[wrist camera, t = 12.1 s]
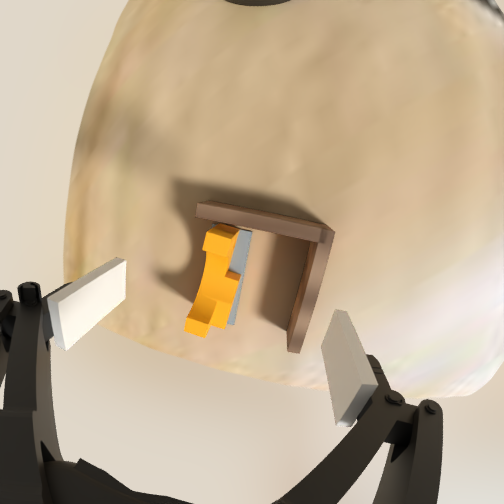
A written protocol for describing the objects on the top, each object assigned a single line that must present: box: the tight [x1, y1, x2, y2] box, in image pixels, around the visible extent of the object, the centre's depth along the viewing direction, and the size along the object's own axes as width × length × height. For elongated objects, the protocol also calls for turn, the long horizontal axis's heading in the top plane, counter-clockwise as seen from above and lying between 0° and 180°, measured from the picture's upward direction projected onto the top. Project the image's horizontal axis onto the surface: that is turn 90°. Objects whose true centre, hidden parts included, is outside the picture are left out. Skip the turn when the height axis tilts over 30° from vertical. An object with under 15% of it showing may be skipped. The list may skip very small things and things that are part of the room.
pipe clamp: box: [184, 223, 241, 338], centre depth 32 cm, size 12×4×6 cm, turn 164°
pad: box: [211, 224, 252, 325], centre depth 35 cm, size 13×5×1 cm, turn 169°
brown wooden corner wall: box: [195, 201, 335, 353], centre depth 32 cm, size 15×15×5 cm
